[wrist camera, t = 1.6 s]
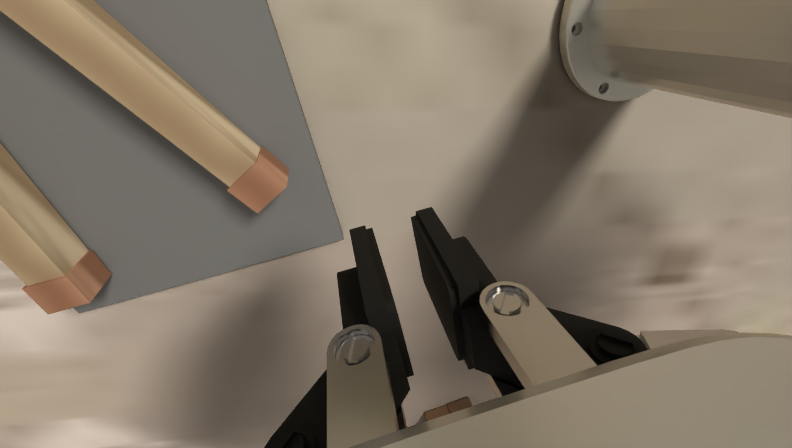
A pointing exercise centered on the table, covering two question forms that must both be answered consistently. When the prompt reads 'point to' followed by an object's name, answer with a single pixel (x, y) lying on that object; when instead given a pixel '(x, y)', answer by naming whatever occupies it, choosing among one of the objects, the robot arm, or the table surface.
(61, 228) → the tongs fixed
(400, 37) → the table surface
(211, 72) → the mat
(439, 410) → the wooden toy
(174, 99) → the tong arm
